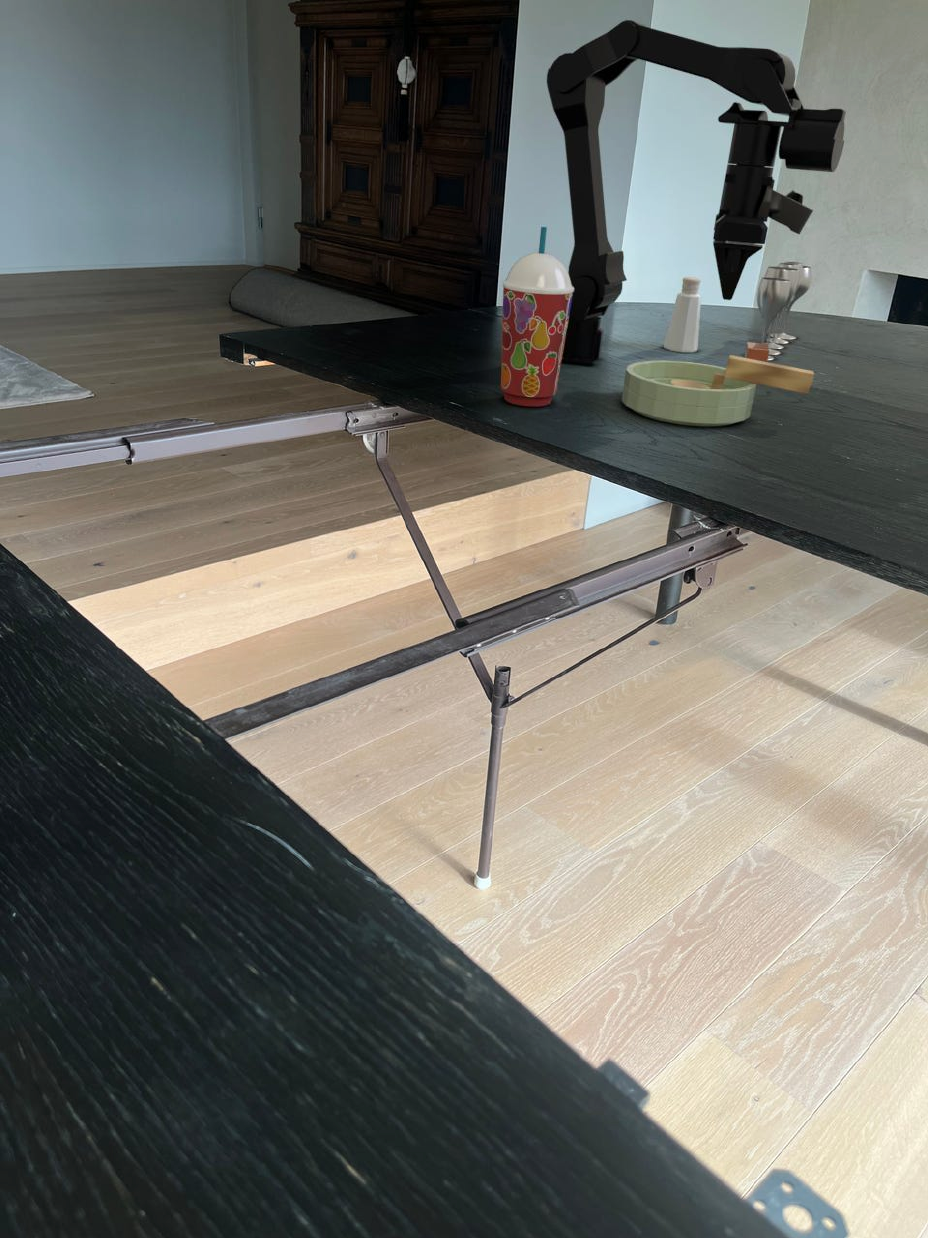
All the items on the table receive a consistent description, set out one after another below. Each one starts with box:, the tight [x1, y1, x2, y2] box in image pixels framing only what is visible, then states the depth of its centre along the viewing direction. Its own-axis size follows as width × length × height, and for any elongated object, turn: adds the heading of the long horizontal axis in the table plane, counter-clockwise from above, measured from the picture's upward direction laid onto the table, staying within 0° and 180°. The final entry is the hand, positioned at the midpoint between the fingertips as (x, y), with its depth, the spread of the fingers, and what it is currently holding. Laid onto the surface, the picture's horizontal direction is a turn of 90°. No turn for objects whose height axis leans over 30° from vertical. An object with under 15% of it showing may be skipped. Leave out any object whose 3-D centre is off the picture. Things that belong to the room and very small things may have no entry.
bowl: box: [621, 360, 757, 427], centre depth 118 cm, size 16×16×4 cm
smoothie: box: [500, 226, 574, 408], centre depth 113 cm, size 8×8×20 cm
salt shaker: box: [663, 276, 702, 354], centre depth 152 cm, size 5×5×11 cm
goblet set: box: [756, 261, 813, 361], centre depth 160 cm, size 28×6×13 cm, turn 154°
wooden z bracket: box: [670, 354, 815, 395], centre depth 116 cm, size 16×5×7 cm, turn 77°
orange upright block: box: [743, 341, 770, 362], centre depth 140 cm, size 3×5×4 cm, turn 167°
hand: (726, 294), depth 128 cm, fingers open, 9 cm apart
